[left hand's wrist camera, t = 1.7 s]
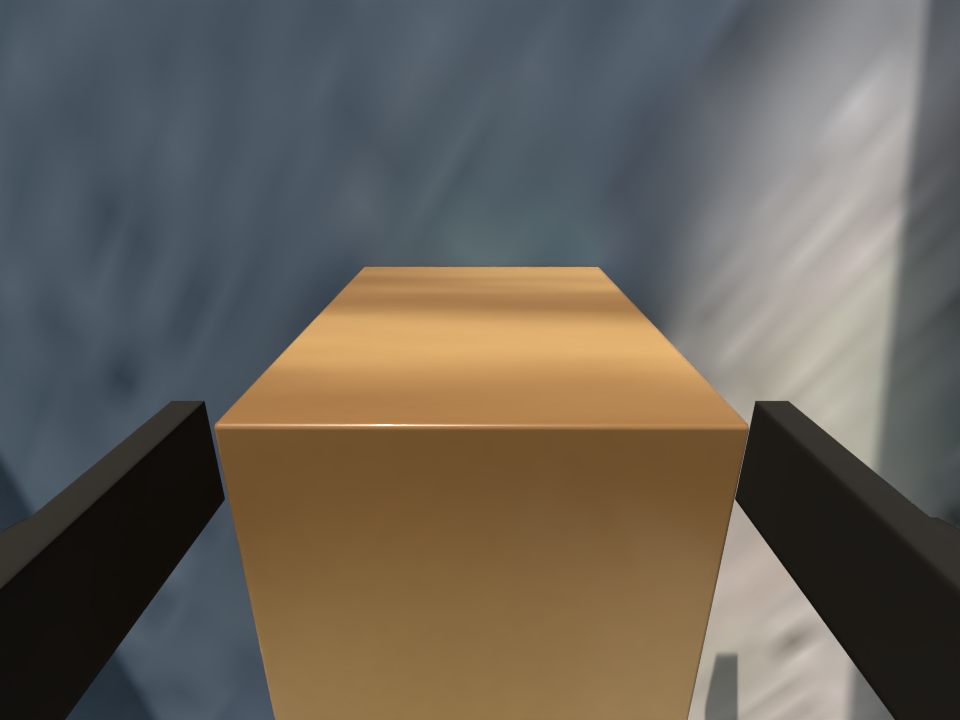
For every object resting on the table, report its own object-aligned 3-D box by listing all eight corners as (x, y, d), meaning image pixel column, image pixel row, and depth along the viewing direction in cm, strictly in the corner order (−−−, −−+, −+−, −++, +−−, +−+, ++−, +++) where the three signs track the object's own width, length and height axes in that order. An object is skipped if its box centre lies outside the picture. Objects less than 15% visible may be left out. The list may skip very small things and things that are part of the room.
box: (363, 266, 14) (210, 424, 6) (599, 266, 14) (753, 425, 6) (406, 793, 22) (364, 1153, 14) (555, 794, 22) (596, 1153, 14)
